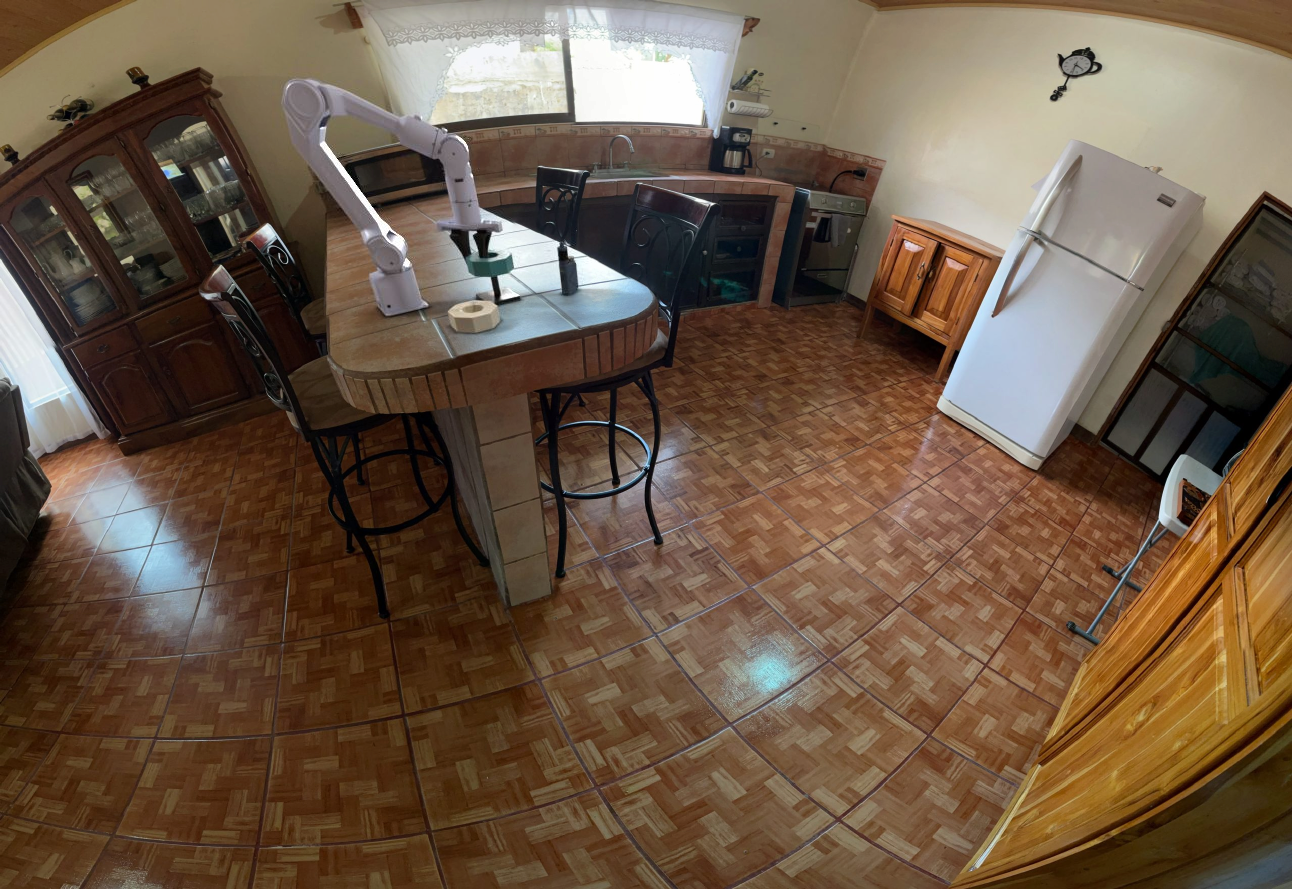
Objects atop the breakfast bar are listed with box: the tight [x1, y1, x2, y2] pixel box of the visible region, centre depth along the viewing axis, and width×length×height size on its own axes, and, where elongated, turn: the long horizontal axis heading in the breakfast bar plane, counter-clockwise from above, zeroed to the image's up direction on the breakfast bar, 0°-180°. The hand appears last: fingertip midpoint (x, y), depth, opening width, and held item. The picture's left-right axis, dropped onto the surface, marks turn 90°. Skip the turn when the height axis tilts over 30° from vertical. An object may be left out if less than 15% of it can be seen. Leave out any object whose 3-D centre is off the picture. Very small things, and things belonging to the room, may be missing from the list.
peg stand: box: [475, 276, 521, 307], centre depth 120 cm, size 8×8×6 cm
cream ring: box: [447, 299, 501, 334], centre depth 109 cm, size 10×10×3 cm
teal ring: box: [465, 248, 515, 278], centre depth 117 cm, size 10×10×3 cm
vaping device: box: [556, 241, 579, 296], centre depth 121 cm, size 3×5×12 cm, turn 152°
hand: (477, 263), depth 117 cm, fingers closed on teal ring, 3 cm apart
